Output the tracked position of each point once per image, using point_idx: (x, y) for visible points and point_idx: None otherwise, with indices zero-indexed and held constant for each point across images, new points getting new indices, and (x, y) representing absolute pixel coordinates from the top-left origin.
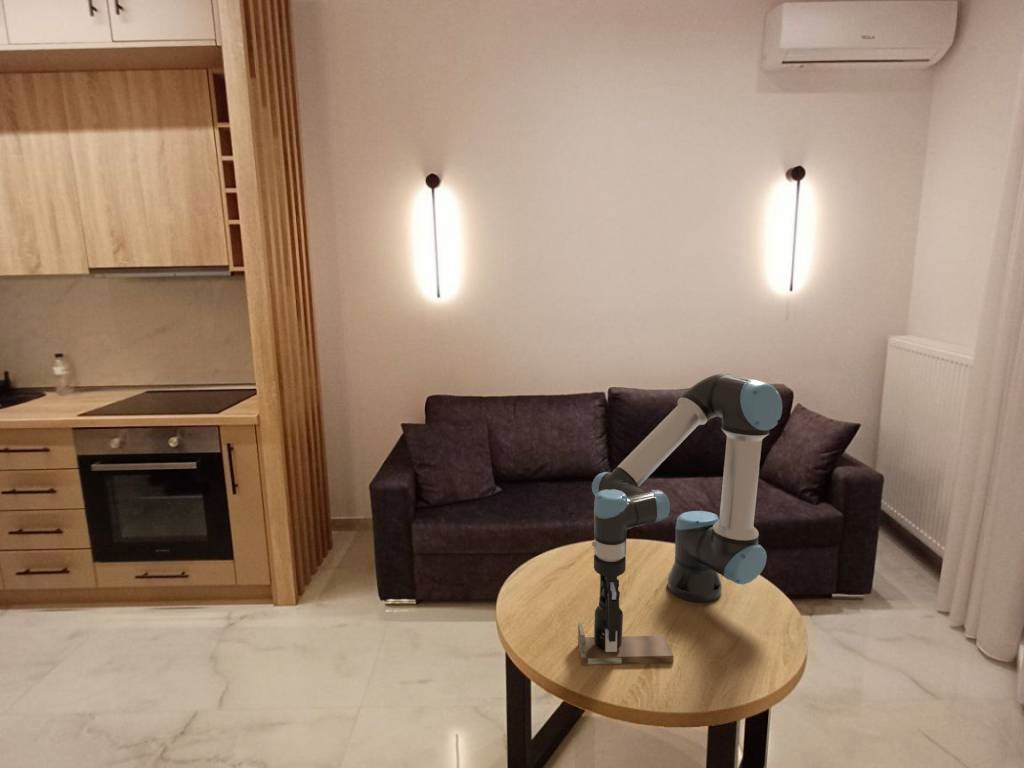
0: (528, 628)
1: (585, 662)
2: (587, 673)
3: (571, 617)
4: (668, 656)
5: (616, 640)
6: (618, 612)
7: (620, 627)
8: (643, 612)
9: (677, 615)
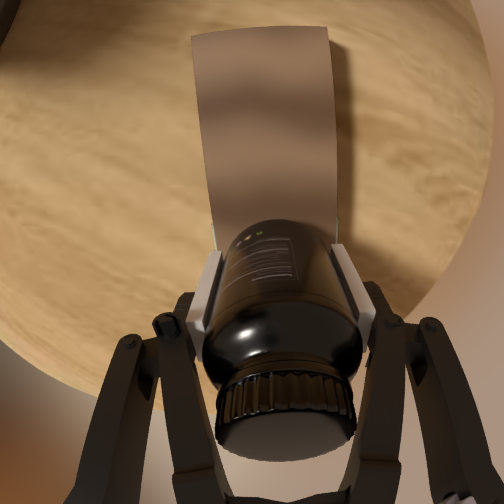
0: None
1: None
2: None
3: (118, 319)
4: (328, 44)
5: (355, 271)
6: (471, 401)
7: (330, 276)
8: (47, 122)
9: (58, 26)
